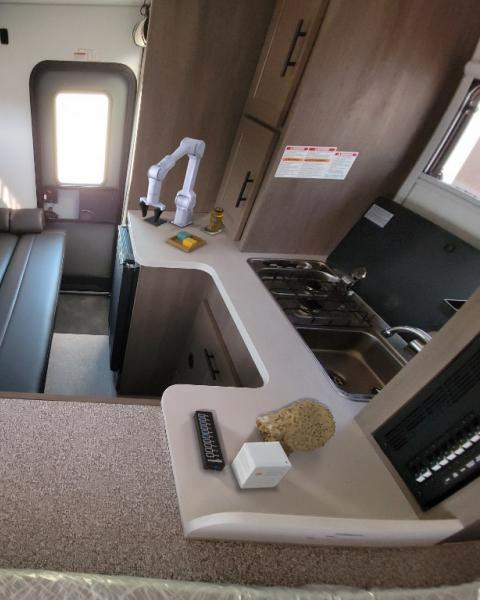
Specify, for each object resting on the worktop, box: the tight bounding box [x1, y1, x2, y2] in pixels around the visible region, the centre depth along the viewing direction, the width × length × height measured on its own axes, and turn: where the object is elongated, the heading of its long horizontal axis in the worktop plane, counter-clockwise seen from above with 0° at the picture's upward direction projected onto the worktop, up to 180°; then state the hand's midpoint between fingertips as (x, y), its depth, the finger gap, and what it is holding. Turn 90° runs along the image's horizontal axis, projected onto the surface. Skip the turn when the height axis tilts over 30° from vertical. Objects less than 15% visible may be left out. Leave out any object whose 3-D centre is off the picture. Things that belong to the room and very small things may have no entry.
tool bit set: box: [193, 410, 226, 472], centre depth 82 cm, size 4×14×2 cm, turn 174°
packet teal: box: [176, 230, 192, 241], centre depth 167 cm, size 4×5×3 cm
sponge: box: [255, 400, 337, 455], centre depth 83 cm, size 13×8×20 cm
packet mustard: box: [182, 237, 197, 248], centre depth 161 cm, size 4×5×3 cm
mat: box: [143, 215, 167, 227], centre depth 185 cm, size 9×9×1 cm
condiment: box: [200, 206, 225, 236], centre depth 173 cm, size 7×8×12 cm
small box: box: [230, 441, 293, 489], centre depth 73 cm, size 8×6×10 cm
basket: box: [166, 230, 207, 253], centre depth 164 cm, size 14×13×2 cm
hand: (149, 219), depth 163 cm, fingers open, 7 cm apart
